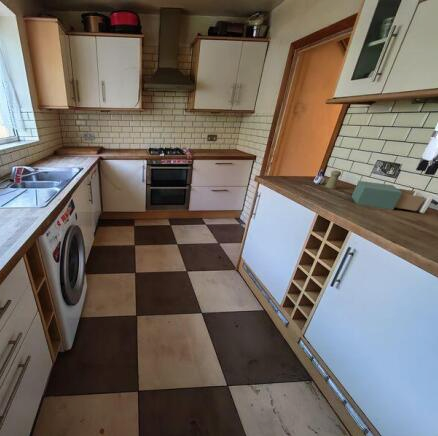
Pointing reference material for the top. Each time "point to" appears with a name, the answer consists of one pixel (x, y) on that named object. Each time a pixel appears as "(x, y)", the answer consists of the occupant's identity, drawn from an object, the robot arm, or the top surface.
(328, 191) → the top surface
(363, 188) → the green faceted block
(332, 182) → the beige upright figurine
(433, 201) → the drawer
